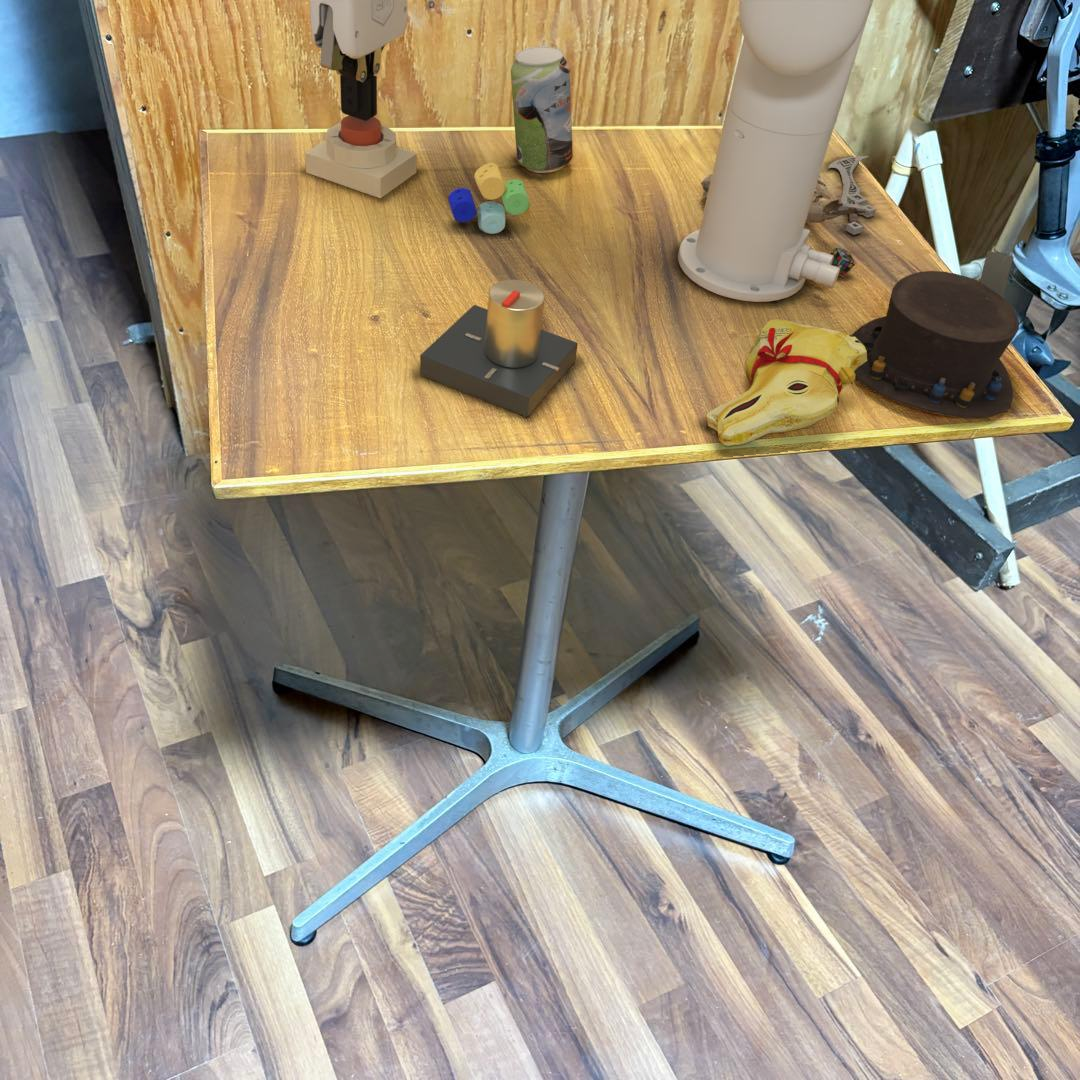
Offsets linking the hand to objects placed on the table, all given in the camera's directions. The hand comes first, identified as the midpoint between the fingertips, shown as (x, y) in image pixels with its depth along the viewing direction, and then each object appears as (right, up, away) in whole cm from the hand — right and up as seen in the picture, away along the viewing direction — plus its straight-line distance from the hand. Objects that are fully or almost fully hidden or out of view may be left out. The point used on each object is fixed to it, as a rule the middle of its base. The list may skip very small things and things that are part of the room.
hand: (359, 114), depth 107 cm
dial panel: (+15, -28, -17) cm, 36 cm away
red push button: (0, -2, +2) cm, 3 cm away
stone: (+40, -6, +10) cm, 42 cm away
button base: (0, -4, +4) cm, 6 cm away
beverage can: (+18, -2, +9) cm, 20 cm away
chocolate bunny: (+42, -25, -17) cm, 52 cm away
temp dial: (+16, -27, -19) cm, 37 cm away
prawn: (+48, -3, +2) cm, 48 cm away
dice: (+13, -12, -1) cm, 17 cm away
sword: (+50, -3, +12) cm, 52 cm away
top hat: (+53, -28, -12) cm, 61 cm away
